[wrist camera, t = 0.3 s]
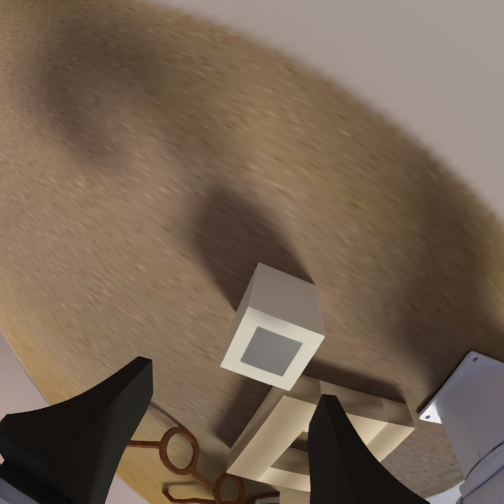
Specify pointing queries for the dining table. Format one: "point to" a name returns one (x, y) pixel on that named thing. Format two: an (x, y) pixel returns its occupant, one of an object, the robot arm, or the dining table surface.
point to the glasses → (190, 468)
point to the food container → (265, 499)
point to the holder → (297, 420)
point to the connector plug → (274, 328)
